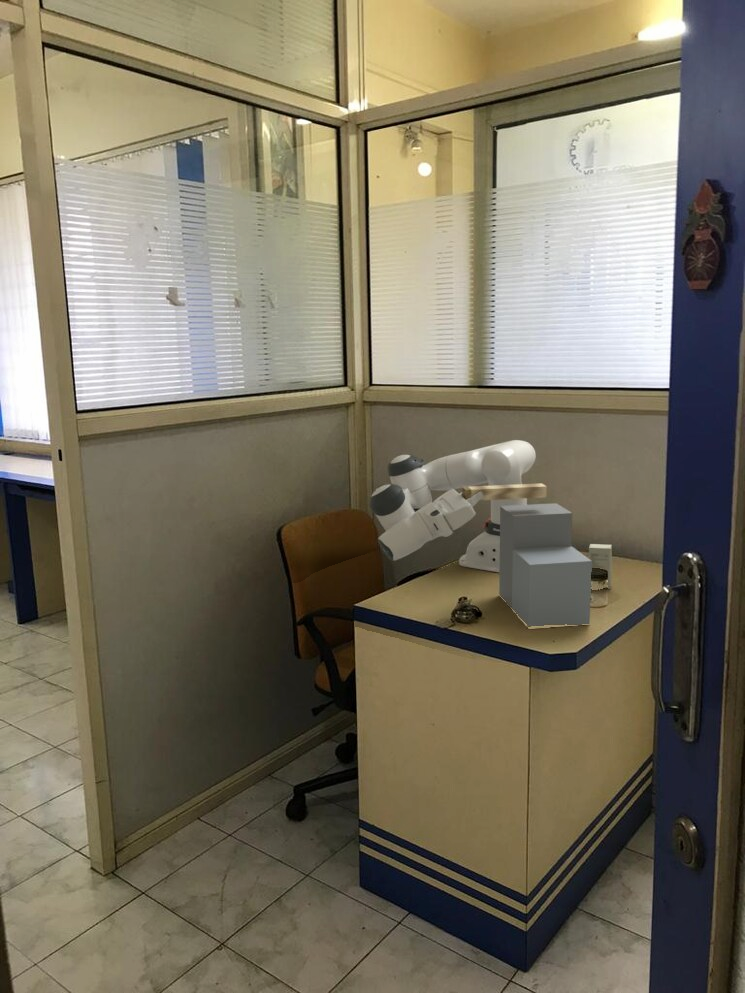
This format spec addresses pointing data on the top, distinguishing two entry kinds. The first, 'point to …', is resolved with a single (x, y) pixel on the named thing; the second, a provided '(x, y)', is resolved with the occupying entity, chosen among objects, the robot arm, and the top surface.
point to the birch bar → (506, 491)
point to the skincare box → (601, 558)
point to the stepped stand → (543, 566)
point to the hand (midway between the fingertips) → (479, 491)
